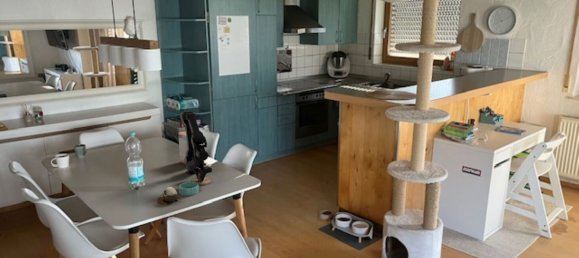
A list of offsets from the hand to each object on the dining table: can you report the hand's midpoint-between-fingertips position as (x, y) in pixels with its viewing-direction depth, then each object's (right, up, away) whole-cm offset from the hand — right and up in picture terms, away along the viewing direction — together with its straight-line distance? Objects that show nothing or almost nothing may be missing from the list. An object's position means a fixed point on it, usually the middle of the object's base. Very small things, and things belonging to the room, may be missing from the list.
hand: (200, 180), depth 260 cm
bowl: (-4, -5, -13) cm, 14 cm away
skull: (-12, -8, -24) cm, 28 cm away
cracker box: (-15, +7, +33) cm, 37 cm away
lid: (0, -1, 0) cm, 1 cm away
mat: (0, -1, 0) cm, 2 cm away
